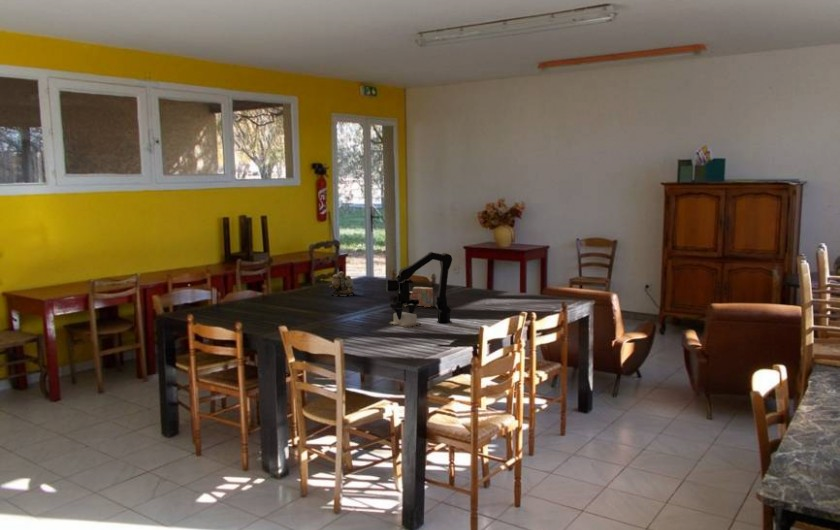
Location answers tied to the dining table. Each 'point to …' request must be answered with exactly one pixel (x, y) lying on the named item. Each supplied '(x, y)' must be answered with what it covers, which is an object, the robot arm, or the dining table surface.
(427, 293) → the stack of blocks
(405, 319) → the block
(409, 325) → the base
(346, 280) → the owl figurine
